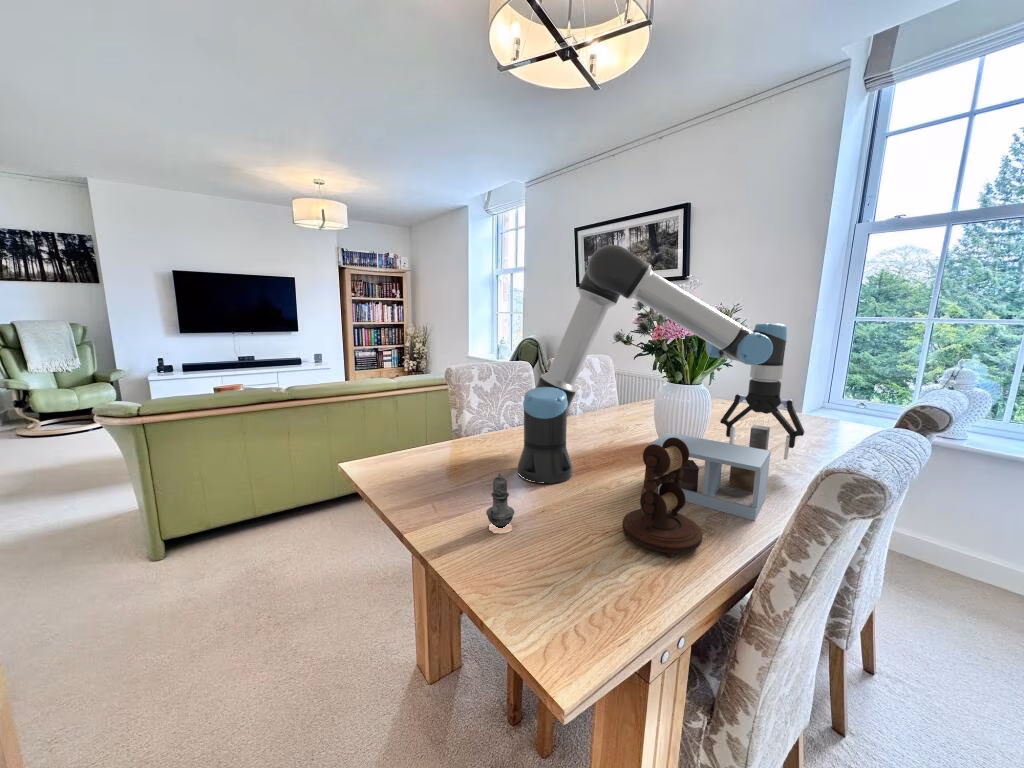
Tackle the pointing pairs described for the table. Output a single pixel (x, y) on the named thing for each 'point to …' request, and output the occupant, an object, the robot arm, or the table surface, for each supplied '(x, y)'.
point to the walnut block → (744, 476)
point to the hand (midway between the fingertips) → (757, 453)
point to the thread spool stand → (663, 503)
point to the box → (689, 476)
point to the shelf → (714, 459)
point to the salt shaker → (500, 504)
